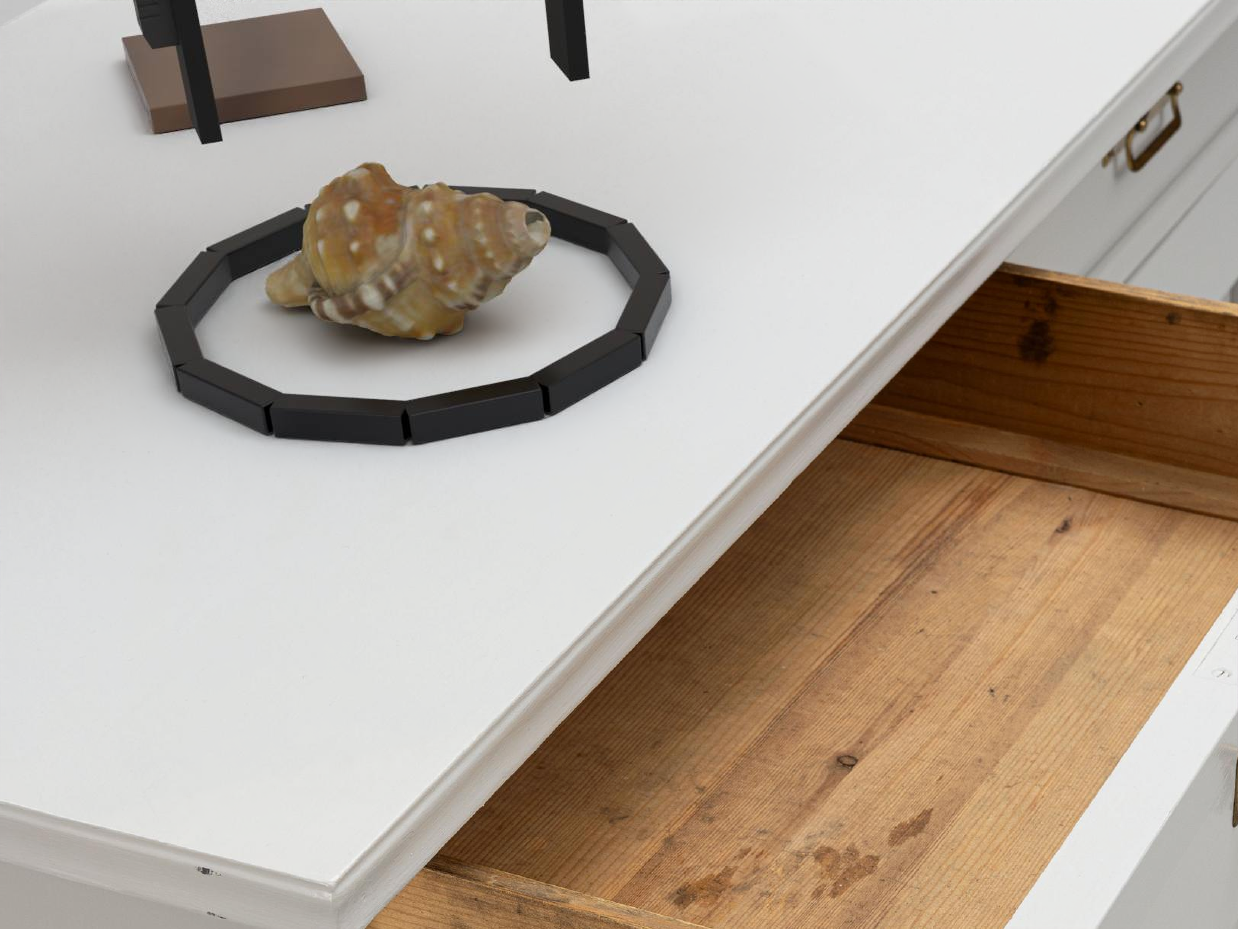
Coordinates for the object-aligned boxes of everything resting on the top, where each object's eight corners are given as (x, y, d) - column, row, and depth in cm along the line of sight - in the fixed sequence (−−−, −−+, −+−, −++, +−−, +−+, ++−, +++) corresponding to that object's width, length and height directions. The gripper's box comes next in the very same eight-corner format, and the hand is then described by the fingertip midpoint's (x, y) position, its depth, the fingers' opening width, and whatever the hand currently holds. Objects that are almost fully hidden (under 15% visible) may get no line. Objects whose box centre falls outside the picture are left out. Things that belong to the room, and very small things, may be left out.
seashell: (502, 333, 92) (586, 153, 84) (448, 459, 86) (533, 279, 79) (295, 234, 90) (362, 41, 82) (226, 356, 84) (291, 161, 77)
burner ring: (209, 487, 76) (202, 457, 76) (134, 261, 91) (128, 234, 90) (733, 380, 81) (732, 351, 81) (583, 181, 96) (581, 155, 95)
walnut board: (154, 134, 101) (149, 108, 101) (126, 61, 109) (121, 37, 108) (367, 99, 104) (364, 74, 103) (325, 30, 111) (322, 6, 111)
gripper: (-122, -519, 62) (56, 197, 75) (717, -596, 68) (746, 77, 81) (-134, -552, 67) (34, 119, 80) (643, -621, 73) (681, 12, 86)
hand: (392, 99), depth 81 cm, fingers open, 13 cm apart
